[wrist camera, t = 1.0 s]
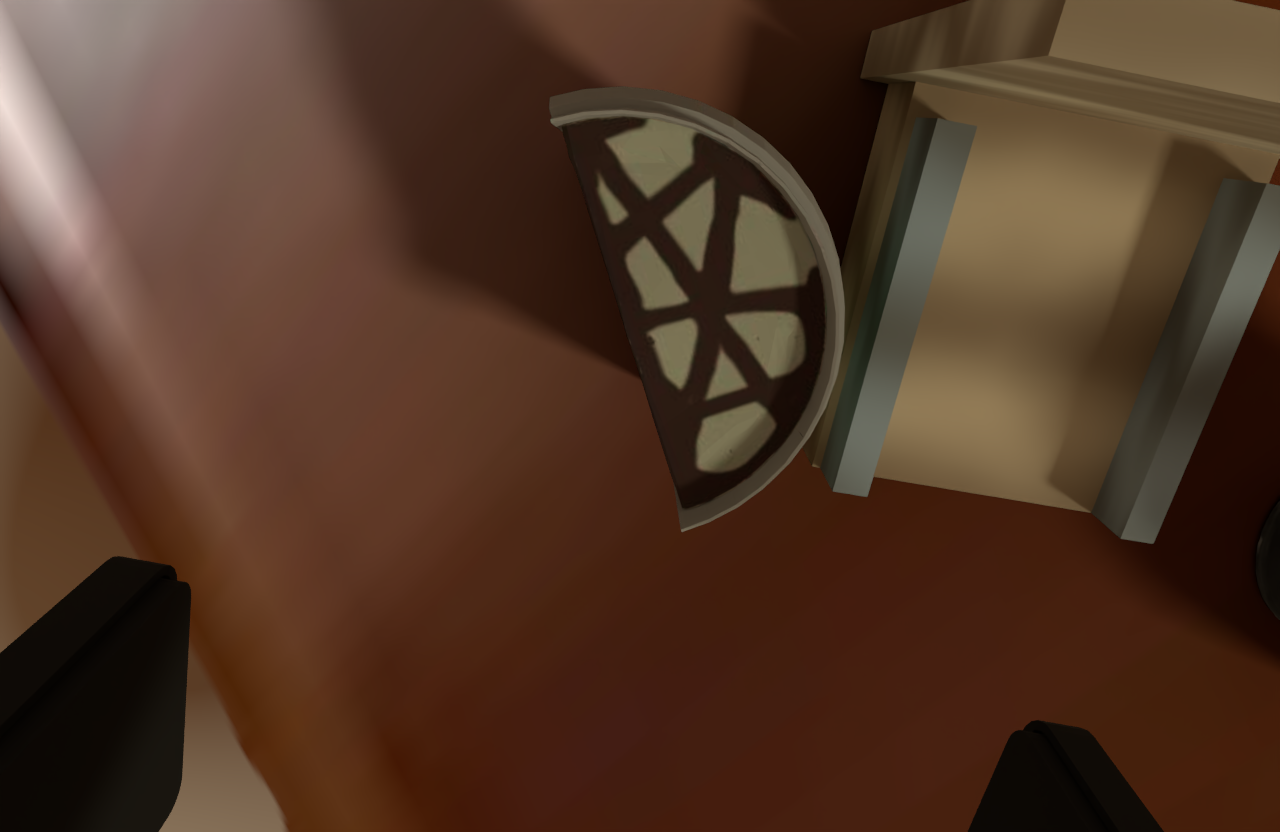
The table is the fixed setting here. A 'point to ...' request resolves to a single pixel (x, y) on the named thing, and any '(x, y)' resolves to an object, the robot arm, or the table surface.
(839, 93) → the table surface
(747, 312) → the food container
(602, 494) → the table surface
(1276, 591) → the milk frother
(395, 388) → the table surface
